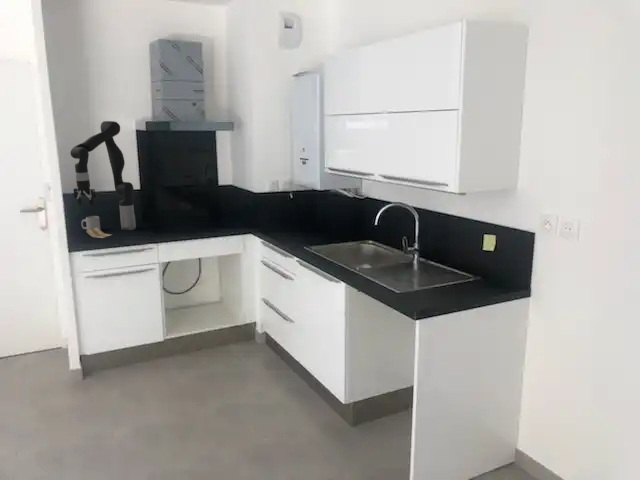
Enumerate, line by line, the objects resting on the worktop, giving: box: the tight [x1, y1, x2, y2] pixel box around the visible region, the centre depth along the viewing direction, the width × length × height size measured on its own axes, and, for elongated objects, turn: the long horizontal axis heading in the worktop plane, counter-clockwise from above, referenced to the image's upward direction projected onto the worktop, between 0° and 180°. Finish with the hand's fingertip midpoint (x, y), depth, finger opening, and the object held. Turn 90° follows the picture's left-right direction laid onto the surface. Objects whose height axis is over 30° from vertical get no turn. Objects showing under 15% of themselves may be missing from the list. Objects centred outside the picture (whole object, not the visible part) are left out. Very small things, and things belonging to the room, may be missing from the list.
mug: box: [80, 215, 101, 231], centre depth 357 cm, size 12×8×11 cm
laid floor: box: [96, 233, 113, 239], centre depth 345 cm, size 11×14×2 cm
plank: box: [85, 227, 106, 238], centre depth 345 cm, size 10×7×1 cm
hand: (85, 204), depth 332 cm, fingers open, 8 cm apart
